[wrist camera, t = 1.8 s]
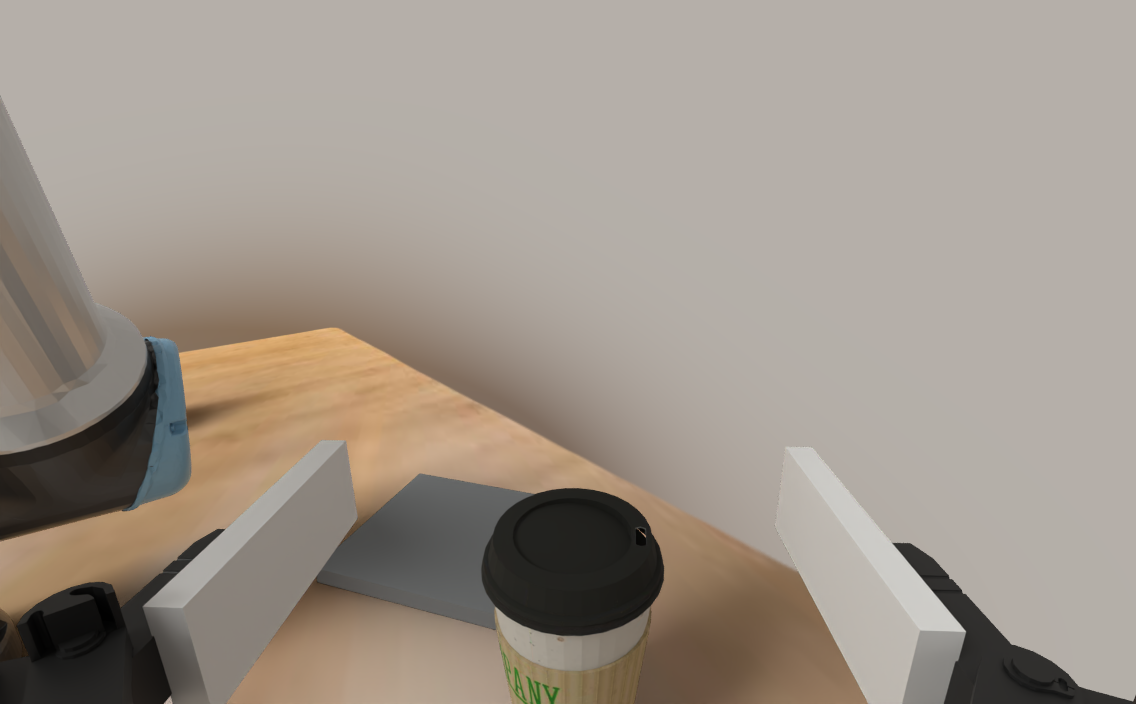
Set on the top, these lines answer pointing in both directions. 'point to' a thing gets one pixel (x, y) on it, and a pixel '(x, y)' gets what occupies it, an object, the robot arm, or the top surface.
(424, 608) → the mat
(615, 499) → the coffee cup
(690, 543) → the top surface
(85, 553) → the top surface
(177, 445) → the robot arm
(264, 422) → the top surface
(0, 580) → the top surface
